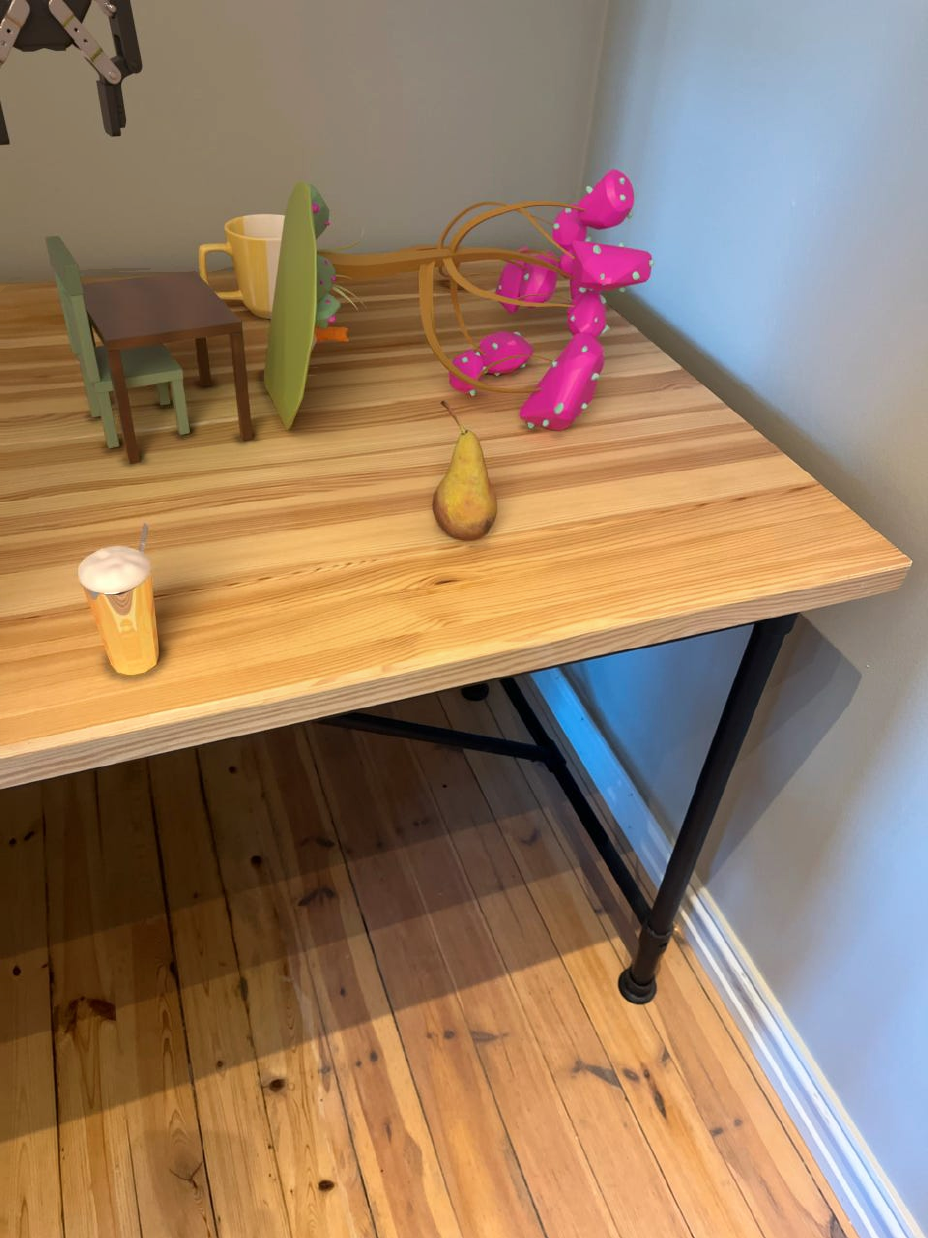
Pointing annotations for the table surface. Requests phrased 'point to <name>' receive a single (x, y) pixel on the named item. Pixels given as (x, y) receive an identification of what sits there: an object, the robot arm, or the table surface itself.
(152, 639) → the milkshake
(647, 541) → the table surface
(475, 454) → the fruit
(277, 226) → the mug
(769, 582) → the table surface
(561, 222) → the green and pink pieces
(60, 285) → the chair
